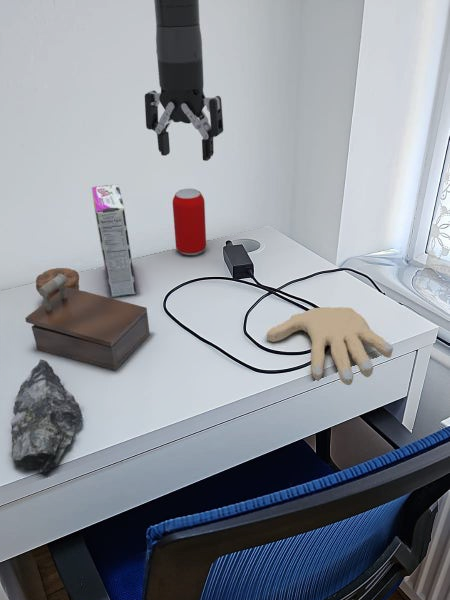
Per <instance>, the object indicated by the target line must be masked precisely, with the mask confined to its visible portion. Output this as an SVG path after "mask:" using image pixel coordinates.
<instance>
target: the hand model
mask: <svg viewBox="0 0 450 600" xmlns="http://www.w3.org/2000/svg"><path fill="white" fill-rule="evenodd" d="M298 331H304V332H305V333H307V334H308V336H309V338H310V340H311V347H310V364H311V365H310V366H311V375H312V377H313V379H314V380H315V381H317V382H319V381H320V380H321V379H322V377H323V374H324V364H325V359H326V356H325V348H326V346H329V347H330V354H331V359H332V360H333V362H334V364H335V366H336V369H337V373H338V376H339V379H340V381H341V382H342V383H343V384H344V385H347V386H351V385H352V383H353V382H354V381H353V380H354V372H353V369H352V366H351V360H350V356H351V359H352V361H353V362H354V363H355V365H356V366H357V367H358V368H359V372H360V374H361V375H362V376H363V377H365V378H370V377H371V376H372V374H373V372H374V364H373V363H372V360H371V359H370V358H369V356H368V354H367V352H366V350H365V347H364V345H363V343H364V344H366V345H367V346H369V347H371V348H374V349H375V350H376V351H377V352H378V353H379V354H381V356H383V357H384V358H387V359H390V358H391V357H392V354H393V351H394V347H393V346H392V344H391V343H389V342H388V341H386V340H384V338H383V337H382V336H380V335H379V334H376V333H375V332H374V331H373V330H372V329H371V328H370V326H369V324H368V323H367V321H366V319H365V318H364V317H363V316H362V315H361V314H359V313H358V312H356V311H355V310H354V309H353V308H352V307H343V306H340V307H339V306H338V307H314V308H310V309H308V310H306V311H303V312H301V313H298V314H293V315H291V316H290V318H289V319H287V320H285V321H284V322H282V323H280V324H278V325H276V326H274V327H271V328H270V329H268V331H267V332H266V339H267V341H268V342H273V343H274V342H278V341H281V340H283V339H285V338H287V337H289V336H290V335H292V334H293V333H295V332H298ZM348 353H349V354H350V356H349V354H348Z"/></svg>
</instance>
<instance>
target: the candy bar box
mask: <svg viewBox="0 0 450 600" xmlns="http://www.w3.org/2000/svg"><path fill="white" fill-rule="evenodd" d="M91 194H92V201H93V206H94V213H95V219H96V226H97V232H98V237H99V242H100V248H101V254H102V259H103V264H104V270H105V274H106V280H107V284H108V290H109V294H110V298H119V297H126V296H132V295H133V296H134V295H136V294H137V288H136V281H135V274H134V266H133V260H132V259H133V258H132V253H131V246H130V238H129V232H128V226H127V225H128V224H127V220H126V219H127V218H126V212H125V205H124V200H123V198H122V197H123V196H122V193H121V189H120V186H119V184H110V185H108V184H107V185H96V186H92V187H91Z"/></svg>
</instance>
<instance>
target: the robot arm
mask: <svg viewBox="0 0 450 600" xmlns="http://www.w3.org/2000/svg"><path fill="white" fill-rule="evenodd" d="M153 2H154V14H155V24H156V25H155V46H156V49H155V50H156V56H157V57H156V58H157V69H158V71H157V72H158V82H159V83H158V84H159V87H160V92H157V91H156V90H151V91H149V92H146V93H145V94H144V109H145V110H144V112H145V113H144V114H145V127H146V129H147V130H151V131H153V132H154V133H156V136H157V137H156V138H157V148H158V151H159V153H160V155H161V156H168V155H170V153H171V149H170V148H171V147H170V135H169V134H170V133H169V131H167V130H168V129H169V127H170V125H171V124H172V122H173V123H183V124H188V125H189V124H192V126H193V128H194V129H196V130H197V131H198V132H199V134H200V135H201V137H202V139H201V150H202V151H201V152H202V161H205V162H208V161H209V160H210V159H212V157H213V155H214V150H215V149H214V138H216V137H218V136H220V134H222V133H223V132H224V118H223V106H222V105H223V104H222V98H221V96H220V95H216V96H214V97H206V95H205V93H204V62H203V61H204V59H203V57H204V56H203V39H202V32H201V24H200V22H201V21H200V0H153ZM160 104H161V106H162V107H163V110H164V111H163V113H162V114H161V116H160V118H159V105H160ZM205 106H206V110H207V111H208V112H209V118H208V116H207V115H206V113H205V112H204V110H203V109H204V108H205ZM209 119H210V121H209Z"/></svg>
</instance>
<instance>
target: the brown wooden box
mask: <svg viewBox="0 0 450 600" xmlns="http://www.w3.org/2000/svg"><path fill="white" fill-rule="evenodd" d="M31 331H32V335H33V338H34V341H35V345H36V349H37V350H38V351H42V352H45V353H50V354H53V355H56V356H61V357H64V358H68V359H71V360H76V361H79V362H82V363H86V364H90V365H94V366H97V367H101V368H104V369H108V370H112V371H117V370H118V369H119V368H120V367H121V366H122V364H124V362H126V361H127V359H128V358H129V357H130V356H131V355H132V354H133V353H134V352H135V351H136V350H137V349H138V348H139V347H140V346H141V345H142V344H143V342H144V341H146V340H147V338H148V337H149V336H150V325H149V316H148V311H147V312H146V313H145V314H144V315H143V316H142V317H141V318H140V319H139V320H138V321H137V322H136V323H135V324H134V325H133V326H132V327H131V328H130V329H129V330H128V331H127V332H126V333H125V334H124V335H123V336H122V337H121V338H120V339H119V340H118V341H117V342H116V343H115V344H114V345H113V346H112V347H109V346H106V345H103V344H99V343H96V342H92V341H89V340H85V339H82V338H79V337H75V336H72V335H68V334H65V333H61V332H58V331H54V330H51V329H48V328H44V327H41V326H37V325H34V324H32V326H31Z"/></svg>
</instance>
